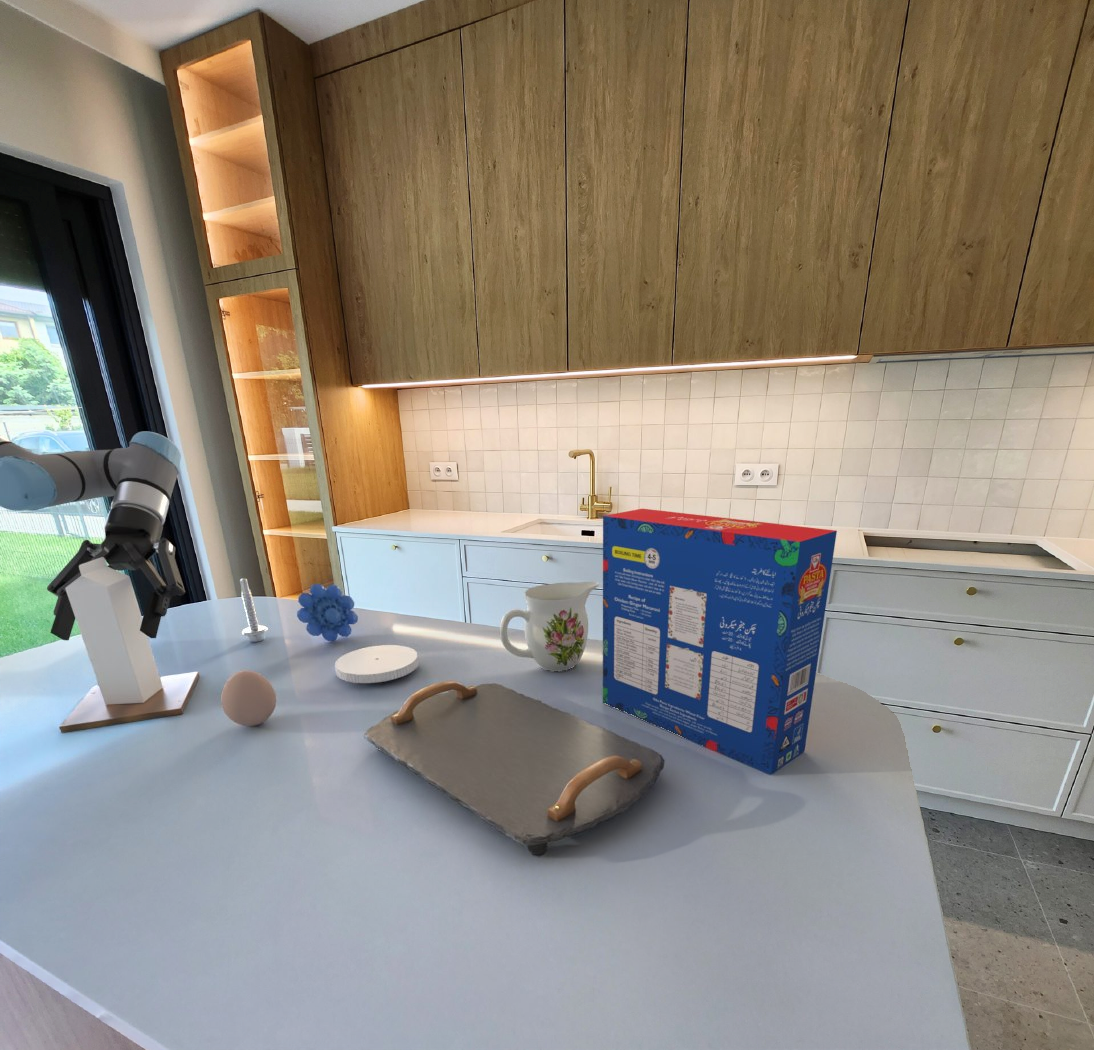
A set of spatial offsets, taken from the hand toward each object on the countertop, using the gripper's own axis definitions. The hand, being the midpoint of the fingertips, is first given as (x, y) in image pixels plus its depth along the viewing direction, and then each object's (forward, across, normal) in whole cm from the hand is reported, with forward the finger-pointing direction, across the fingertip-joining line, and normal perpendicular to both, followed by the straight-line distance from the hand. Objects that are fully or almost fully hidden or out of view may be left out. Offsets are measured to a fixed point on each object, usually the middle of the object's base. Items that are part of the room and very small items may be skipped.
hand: (103, 635), depth 94 cm
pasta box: (+15, -87, -2) cm, 89 cm away
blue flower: (-12, -23, -29) cm, 39 cm away
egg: (+13, -23, -4) cm, 27 cm away
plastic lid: (0, -37, -18) cm, 41 cm away
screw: (-13, -6, -31) cm, 34 cm away
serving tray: (+22, -62, +5) cm, 66 cm away
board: (+7, 0, -10) cm, 12 cm away
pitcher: (-1, -67, -18) cm, 70 cm away
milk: (+6, 0, -10) cm, 12 cm away
